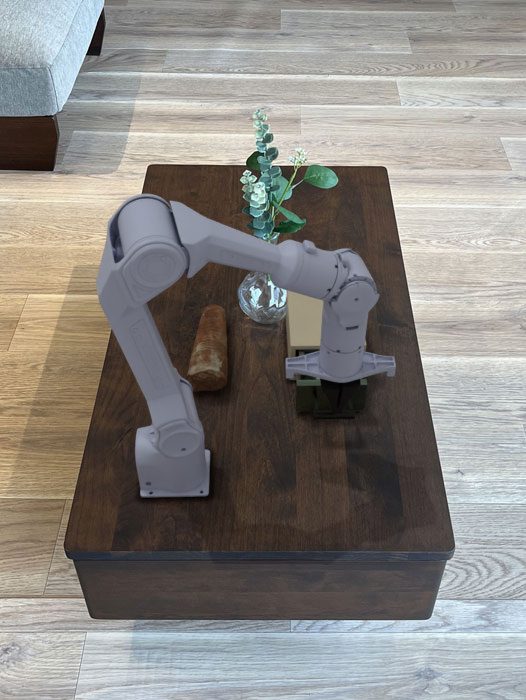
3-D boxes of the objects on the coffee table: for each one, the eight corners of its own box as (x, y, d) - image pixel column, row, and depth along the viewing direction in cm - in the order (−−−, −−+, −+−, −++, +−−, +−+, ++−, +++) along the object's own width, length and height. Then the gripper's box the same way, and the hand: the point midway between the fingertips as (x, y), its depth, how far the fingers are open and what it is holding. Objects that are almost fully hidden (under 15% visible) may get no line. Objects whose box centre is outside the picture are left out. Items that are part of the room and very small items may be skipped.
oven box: (362, 379, 127) (366, 344, 122) (289, 380, 127) (290, 346, 121) (353, 322, 137) (357, 287, 131) (286, 323, 136) (286, 288, 131)
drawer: (367, 435, 117) (371, 409, 113) (297, 436, 117) (298, 410, 113) (355, 353, 130) (358, 327, 126) (291, 354, 130) (292, 327, 126)
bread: (186, 398, 124) (183, 373, 120) (200, 316, 138) (198, 292, 134) (226, 399, 124) (225, 374, 120) (236, 318, 137) (235, 293, 133)
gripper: (394, 316, 105) (384, 386, 115) (285, 318, 105) (283, 388, 115) (402, 353, 100) (390, 424, 110) (287, 355, 100) (285, 425, 110)
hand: (336, 408), depth 112 cm, fingers closed
